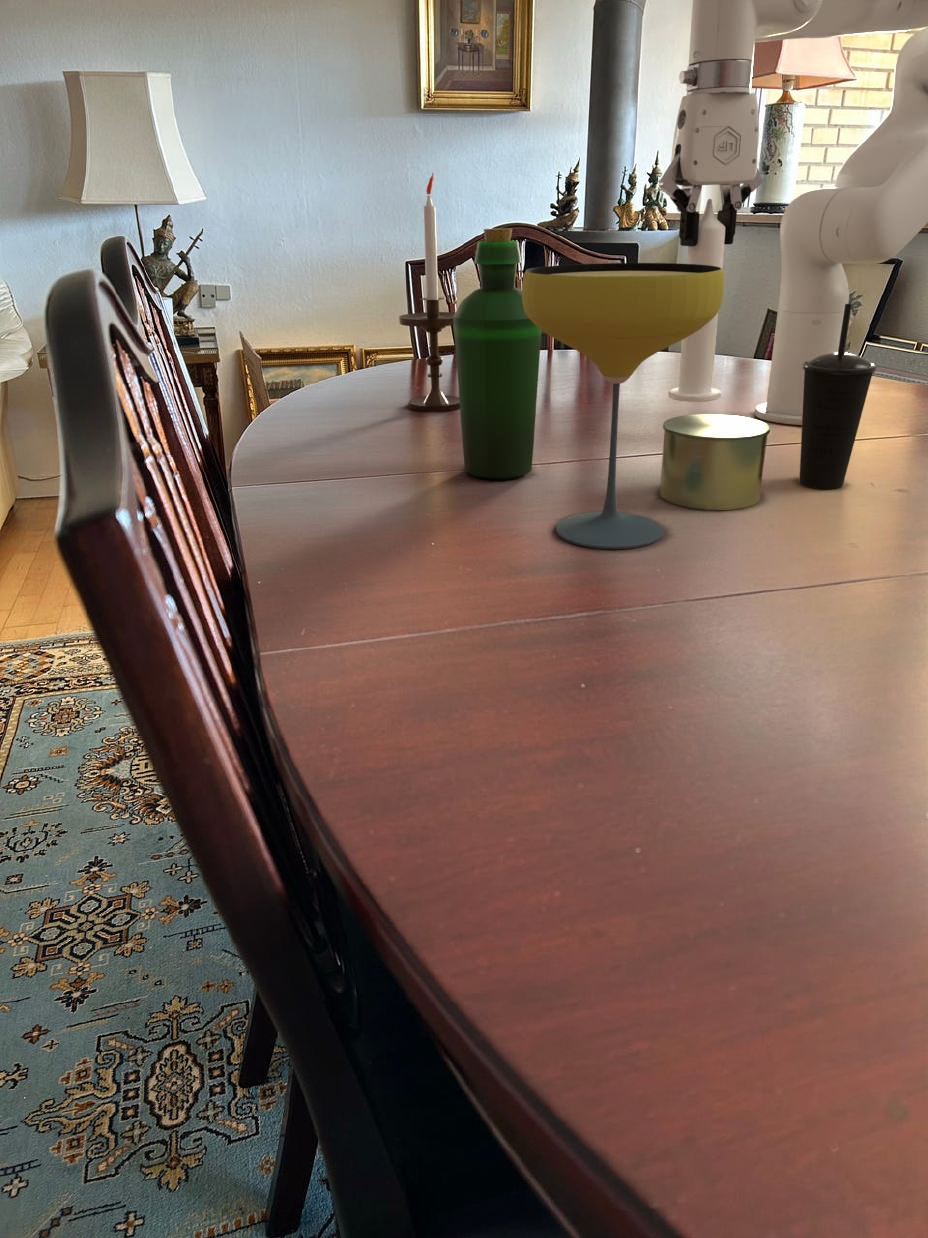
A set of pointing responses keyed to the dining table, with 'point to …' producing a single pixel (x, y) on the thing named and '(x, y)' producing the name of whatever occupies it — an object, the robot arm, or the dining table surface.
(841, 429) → the drinking cup
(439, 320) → the candlestick
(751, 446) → the tin
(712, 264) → the candle
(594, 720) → the dining table surface
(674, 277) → the cocktail glass
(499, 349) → the bottle
